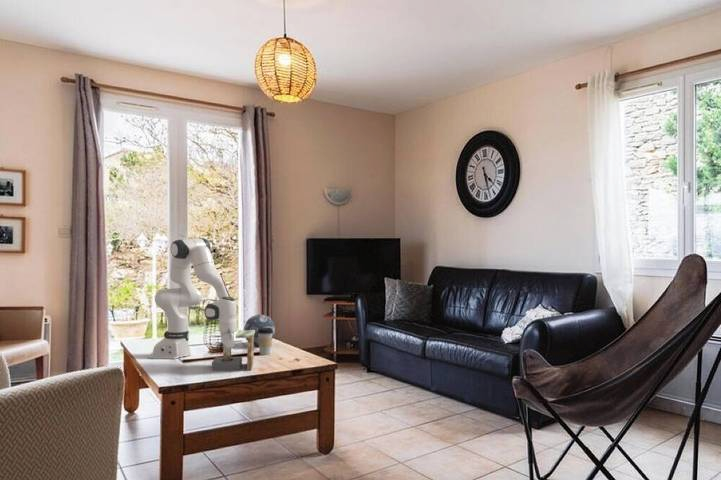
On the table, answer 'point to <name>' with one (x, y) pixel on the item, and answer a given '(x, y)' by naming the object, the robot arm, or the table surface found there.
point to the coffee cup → (265, 340)
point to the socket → (227, 363)
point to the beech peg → (226, 357)
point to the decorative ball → (259, 325)
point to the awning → (250, 349)
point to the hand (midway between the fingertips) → (227, 354)
